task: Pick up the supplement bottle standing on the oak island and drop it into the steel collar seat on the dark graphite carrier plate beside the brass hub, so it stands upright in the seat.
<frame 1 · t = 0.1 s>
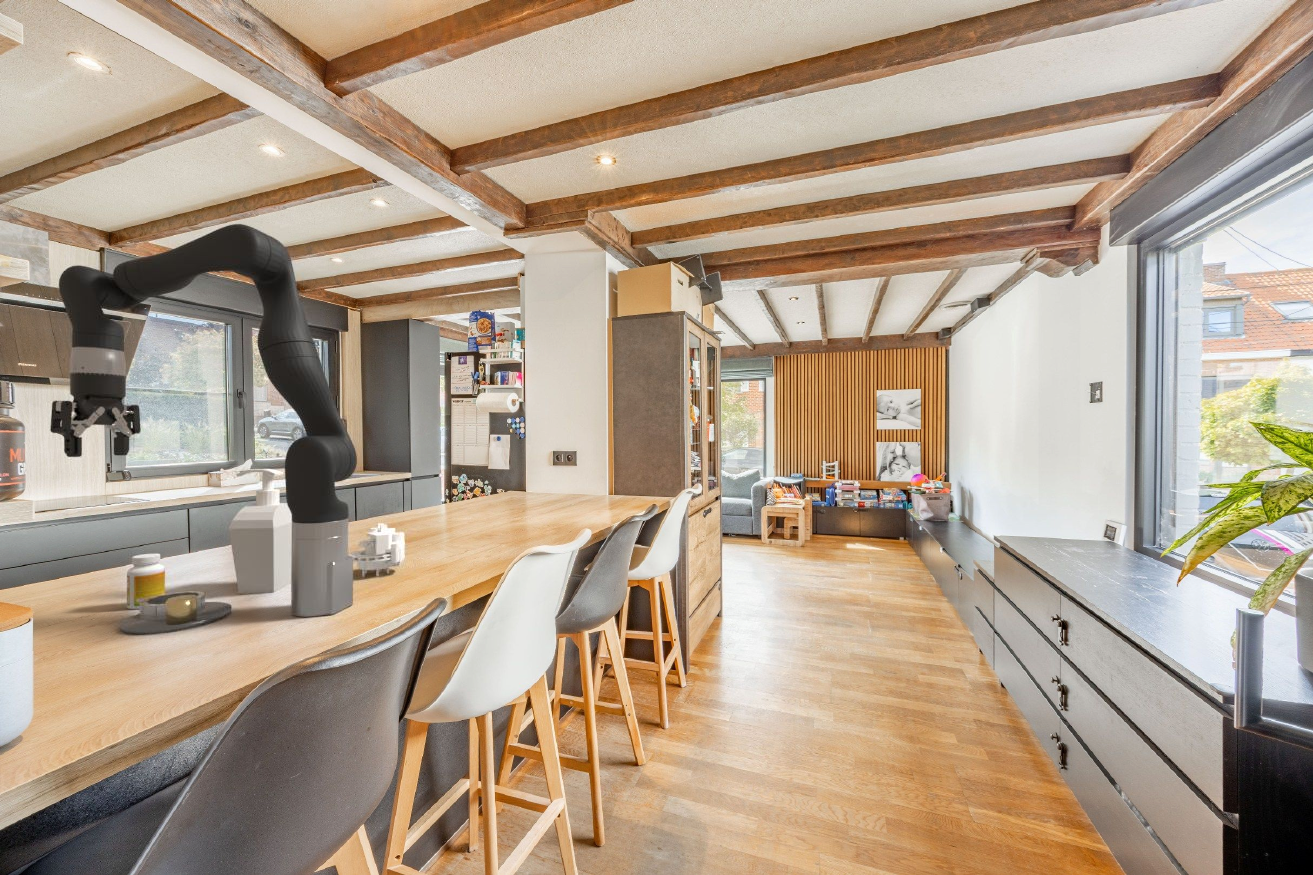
hand: (98, 456, 104), 29 cm above the countertop, fingers open, 8 cm apart
mechanical part: (377, 574, 128), on the countertop
supplement bottle: (146, 606, 104), on the countertop
carrier plate: (178, 619, 96), on the countertop
soap bottle: (262, 588, 116), on the countertop
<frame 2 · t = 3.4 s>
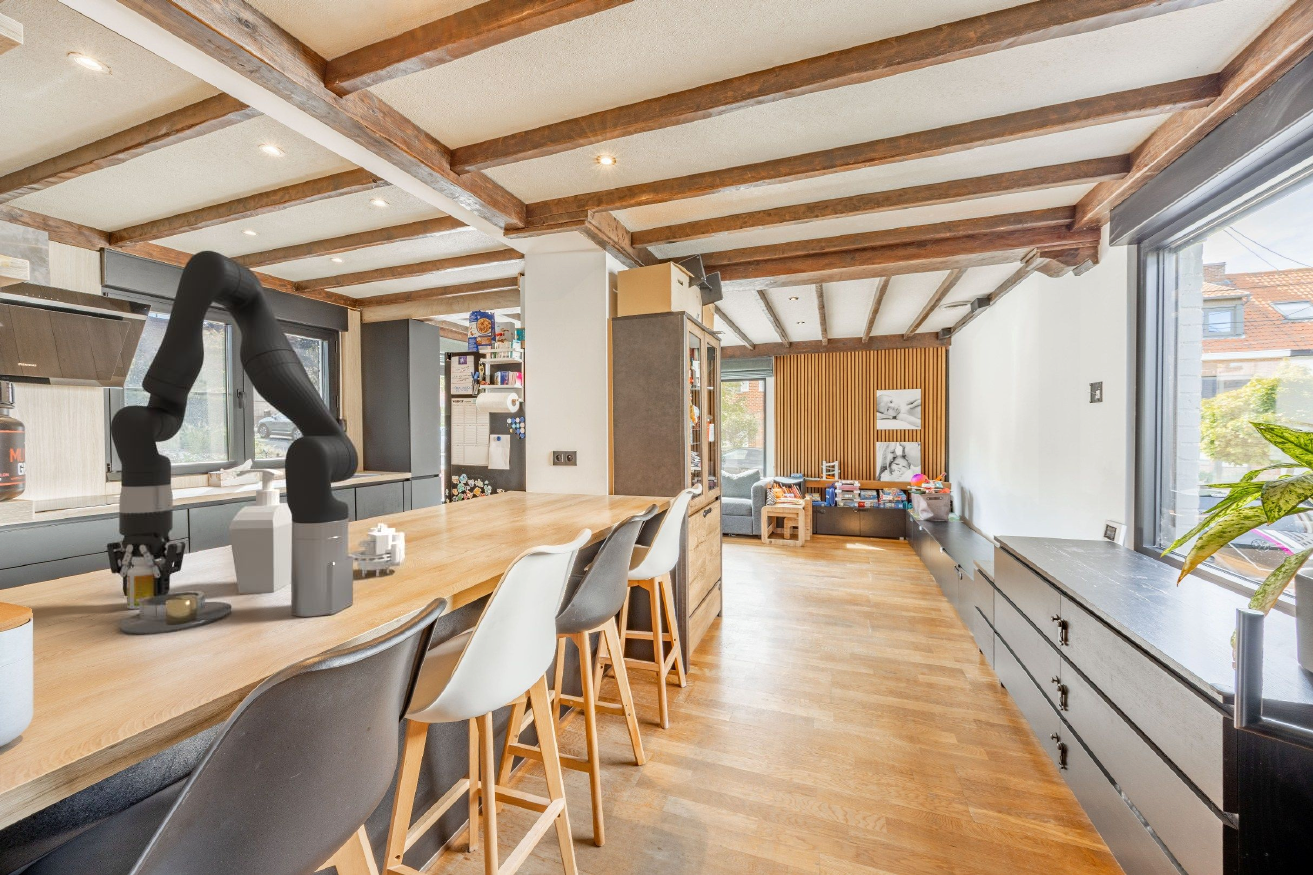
hand: (146, 594, 104), 2 cm above the countertop, fingers closed on supplement bottle, 5 cm apart
supplement bottle: (146, 606, 104), on the countertop, touching gripper
everything else where it was.
when the fingers open (6 cm above the countertop, at t = 9.3 s): supplement bottle drops 3 cm, resting on carrier plate.
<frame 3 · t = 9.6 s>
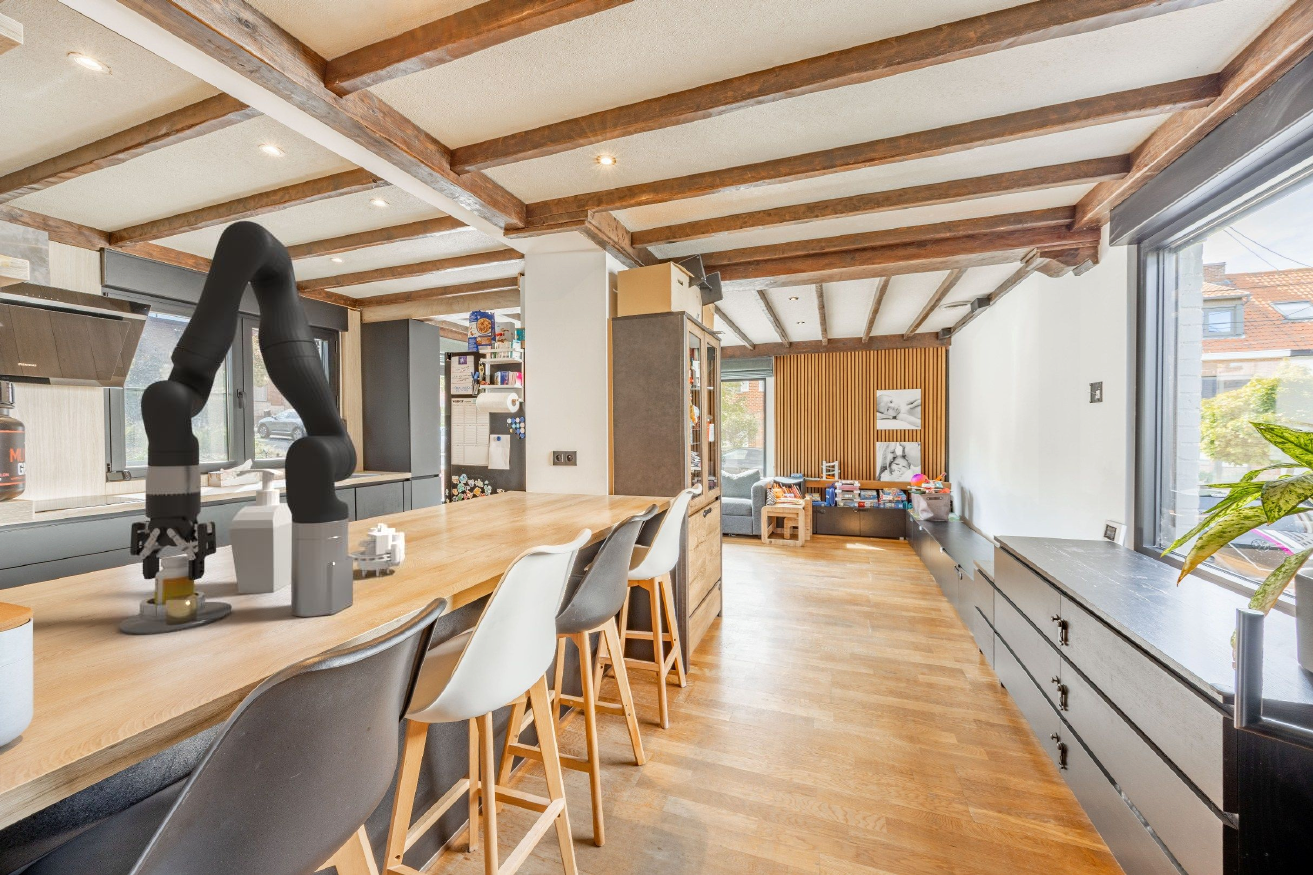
hand: (173, 578, 98), 7 cm above the countertop, fingers open, 8 cm apart
supplement bottle: (174, 611, 98), point 1 cm above the countertop, touching carrier plate
everything else where it was.
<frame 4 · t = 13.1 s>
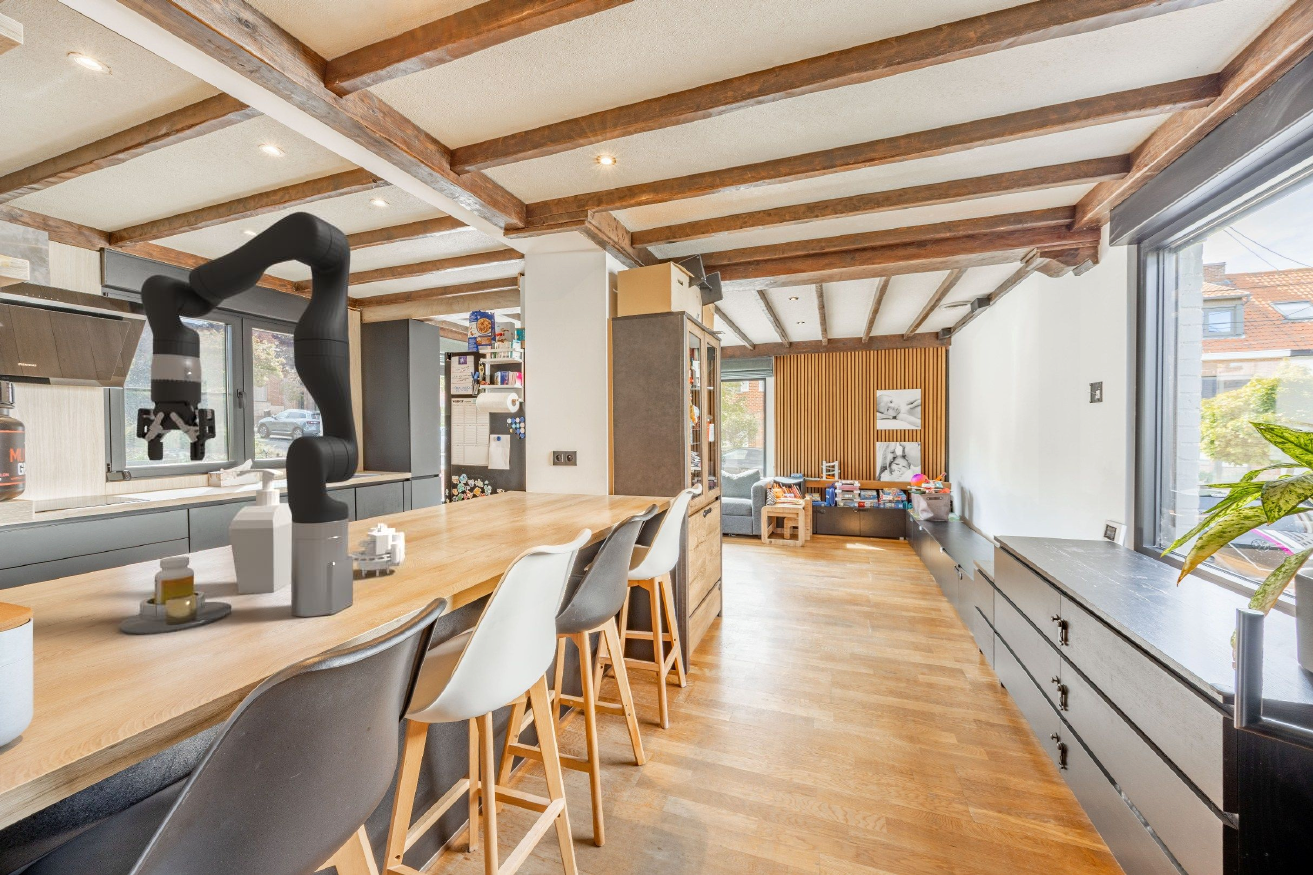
hand: (176, 460, 106), 28 cm above the countertop, fingers open, 8 cm apart
nothing on the countertop moved.
at the end: supplement bottle 0.1 cm from the target spot on the carrier plate, point 0.6 cm above the carrier plate's base; supplement bottle tilted 1°; the gripper is holding nothing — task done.
